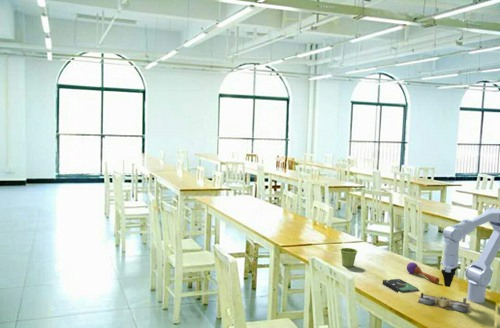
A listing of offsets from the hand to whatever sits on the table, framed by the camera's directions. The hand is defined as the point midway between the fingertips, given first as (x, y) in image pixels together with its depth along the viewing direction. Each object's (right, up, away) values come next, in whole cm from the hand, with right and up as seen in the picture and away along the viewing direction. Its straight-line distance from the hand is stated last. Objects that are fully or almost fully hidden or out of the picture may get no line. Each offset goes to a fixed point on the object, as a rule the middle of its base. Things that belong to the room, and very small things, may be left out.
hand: (448, 284), depth 207 cm
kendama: (+2, -7, +38) cm, 38 cm away
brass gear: (-4, -8, -3) cm, 10 cm away
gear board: (-3, -9, -1) cm, 10 cm away
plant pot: (-34, -3, +52) cm, 62 cm away
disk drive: (-15, -8, +19) cm, 25 cm away
